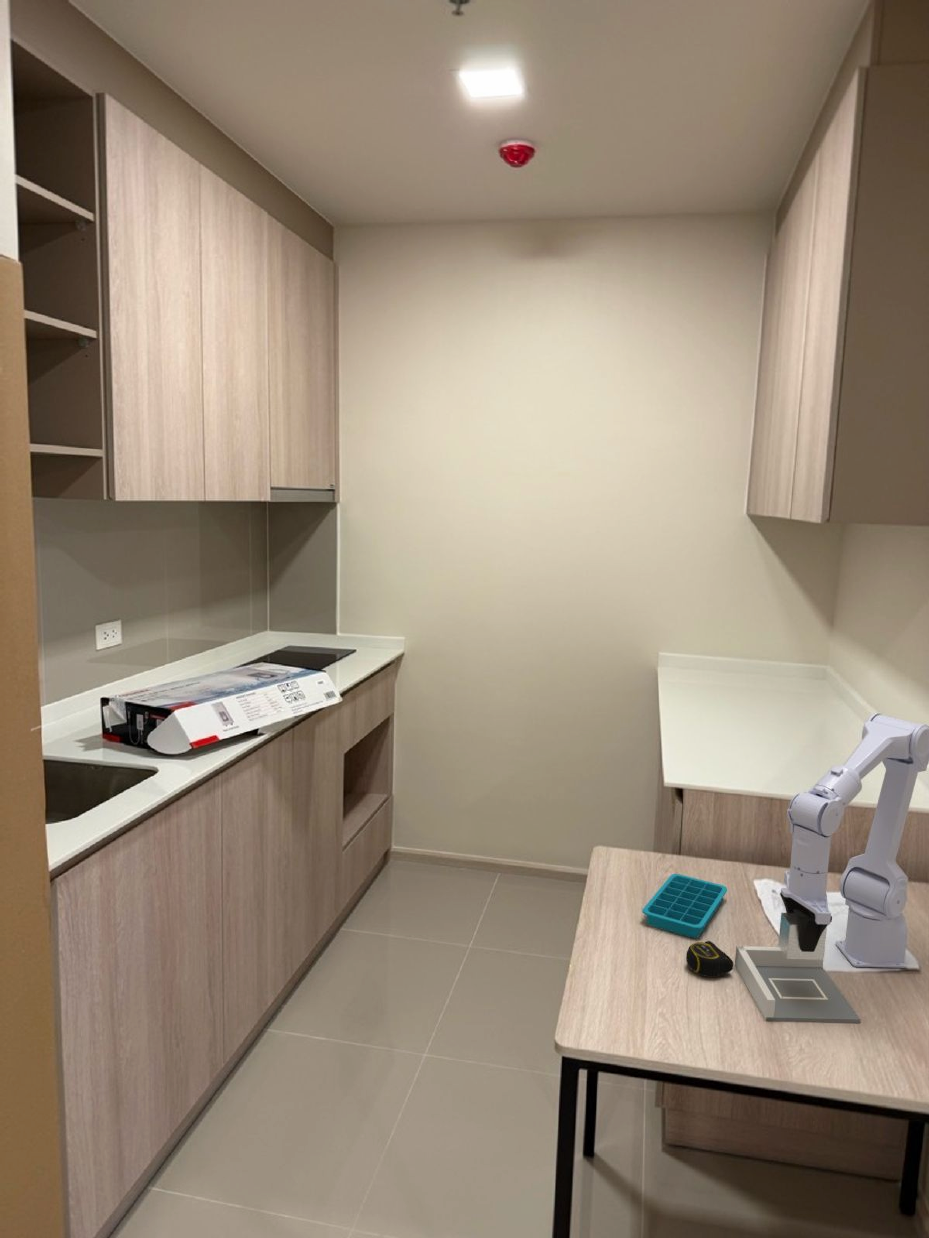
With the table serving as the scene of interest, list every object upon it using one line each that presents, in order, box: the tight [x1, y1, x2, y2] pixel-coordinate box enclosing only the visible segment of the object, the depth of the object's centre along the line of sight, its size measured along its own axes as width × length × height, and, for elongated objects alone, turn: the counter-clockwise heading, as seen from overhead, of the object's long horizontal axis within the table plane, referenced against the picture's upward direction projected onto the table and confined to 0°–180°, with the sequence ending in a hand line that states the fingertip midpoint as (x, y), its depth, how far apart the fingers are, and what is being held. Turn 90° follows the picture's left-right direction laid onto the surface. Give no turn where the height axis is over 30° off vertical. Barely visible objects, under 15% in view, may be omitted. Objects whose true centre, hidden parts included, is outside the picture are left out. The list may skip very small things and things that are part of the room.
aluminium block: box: [777, 912, 828, 961], centre depth 144 cm, size 4×6×6 cm, turn 90°
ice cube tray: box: [641, 873, 728, 939], centre depth 172 cm, size 12×20×3 cm, turn 149°
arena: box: [734, 945, 862, 1024], centre depth 145 cm, size 15×16×4 cm
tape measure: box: [685, 940, 734, 978], centre depth 152 cm, size 7×7×4 cm
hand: (801, 943), depth 144 cm, fingers closed on aluminium block, 4 cm apart
